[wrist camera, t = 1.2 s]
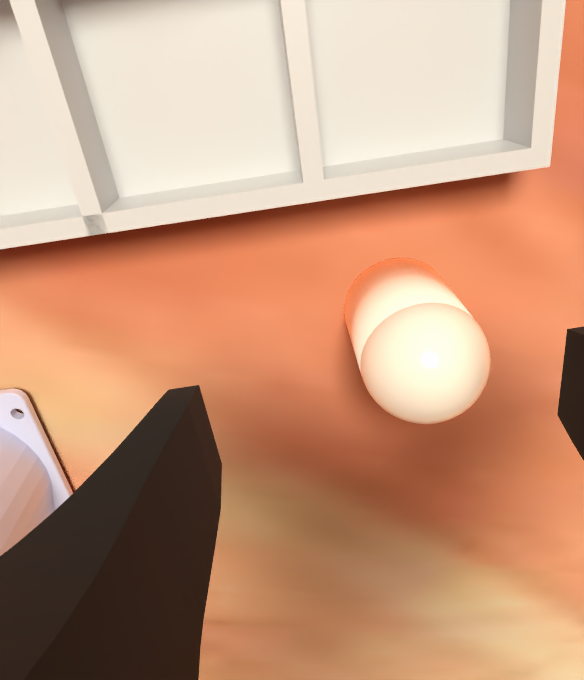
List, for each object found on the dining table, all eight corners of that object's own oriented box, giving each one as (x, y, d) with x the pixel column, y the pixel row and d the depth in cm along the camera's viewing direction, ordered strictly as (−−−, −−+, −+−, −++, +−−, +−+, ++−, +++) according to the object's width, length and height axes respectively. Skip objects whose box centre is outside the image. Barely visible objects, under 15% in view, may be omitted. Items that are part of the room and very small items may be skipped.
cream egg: (447, 344, 21) (508, 441, 16) (348, 358, 21) (375, 459, 16) (447, 250, 19) (517, 323, 14) (339, 266, 19) (366, 344, 14)
